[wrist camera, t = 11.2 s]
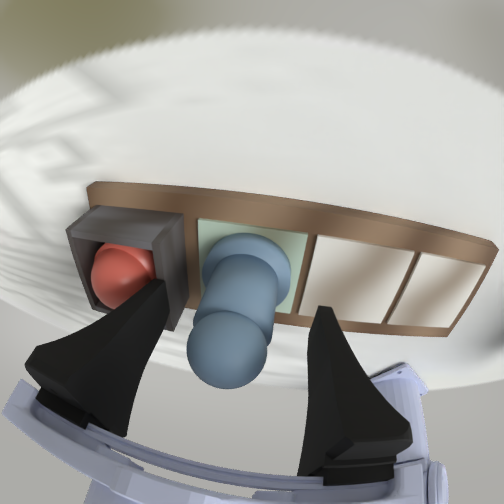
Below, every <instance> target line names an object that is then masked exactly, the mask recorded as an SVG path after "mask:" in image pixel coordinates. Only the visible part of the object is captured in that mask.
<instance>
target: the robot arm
mask: <svg viewBox="0 0 504 504" xmlns="http://www.w3.org/2000/svg"><path fill="white" fill-rule="evenodd" d="M169 313H170V306H169V301H168V295H167V289H166V282H165V281H164V280H159V279H153V280H151V281H150V282H149V283H148V284H146V285H145V286H144V287H143V288H141V289H140V290H139V291H138V292H136V293H135V294H134V295H133V296H131V297H130V298H129V299H127V300H126V301H125V302H124V303H122V304H121V305H120V306H118V307H117V308H115V309H114V310H113V311H111V312H110V313H108V314H107V315H105V316H104V317H102V318H101V319H99V320H97V321H96V322H94V323H92V324H91V325H89V326H87V327H85V328H83V329H81V330H79V331H77V332H75V333H73V334H71V335H68V336H66V337H63V338H61V339H58V340H56V341H52V342H49V343H46V344H42V345H39V346H36V348H35V349H34V351H33V352H32V354H31V355H30V357H29V358H28V360H27V361H26V363H25V368H26V370H27V371H28V373H29V374H30V375H31V376H32V377H33V379H34V380H35V381H36V382H37V383H38V384H39V385H40V386H41V389H40V390H39V391H38V390H37V389H36V388H34V387H33V386H32V385H30V384H29V383H27V382H26V381H24V380H23V379H20V381H19V382H18V384H17V386H16V387H15V389H14V391H13V393H12V394H11V396H10V398H9V400H8V402H7V403H6V405H5V407H4V409H3V411H2V415H3V416H5V417H6V418H7V419H8V420H9V421H10V422H11V423H13V424H14V425H15V426H16V427H17V428H19V429H20V430H21V431H22V432H23V433H25V434H26V435H27V436H28V437H30V438H31V439H32V440H33V441H35V442H36V443H38V444H39V445H40V446H41V447H43V448H44V449H45V450H47V451H48V452H50V453H51V454H52V455H54V456H55V457H57V458H59V459H60V460H61V461H63V462H64V463H66V464H68V465H69V466H71V467H72V468H74V469H76V470H77V471H79V472H81V473H82V474H84V475H86V476H88V477H89V478H91V479H92V482H91V484H90V487H89V490H88V492H87V495H86V498H85V501H84V504H448V501H449V500H448V499H449V492H448V479H447V473H446V469H445V466H444V465H443V464H441V463H439V461H435V462H433V461H431V460H429V449H428V441H427V434H426V427H425V421H424V415H423V409H422V404H421V398H420V396H422V395H424V394H426V393H428V388H427V387H426V385H425V384H424V383H423V382H422V380H421V379H420V378H419V377H418V375H417V374H416V373H415V372H414V371H413V369H412V368H411V367H410V366H409V364H402V365H400V366H398V367H396V368H394V369H392V370H390V371H387V372H385V373H383V374H381V375H379V376H376V377H374V378H372V379H369V377H368V376H367V374H366V373H365V371H364V370H363V368H362V367H361V365H360V364H359V362H358V360H357V359H356V357H355V355H354V353H353V351H352V350H351V348H350V346H349V344H348V342H347V340H346V338H345V336H344V334H343V332H342V329H341V327H340V325H339V323H338V320H337V318H336V316H335V313H334V311H333V309H332V307H329V306H321V305H318V308H317V311H316V314H315V317H314V320H313V323H312V326H311V329H310V332H309V337H308V350H307V362H308V395H309V396H308V410H307V419H306V427H305V435H304V441H303V447H302V453H301V458H300V464H299V468H298V473H297V476H284V475H272V474H262V473H254V472H247V471H240V470H234V469H228V468H223V467H218V466H213V465H208V464H204V463H200V462H195V461H192V460H187V459H184V458H180V457H177V456H173V455H170V454H166V453H163V452H160V451H157V450H154V449H151V448H148V447H145V446H143V445H140V444H137V443H135V442H132V441H129V440H127V439H124V438H123V437H126V436H127V430H128V425H129V419H130V415H131V411H132V407H133V402H134V399H135V396H136V392H137V389H138V385H139V383H140V380H141V377H142V374H143V371H144V369H145V366H146V364H147V362H148V360H149V358H150V356H151V354H152V352H153V350H154V348H155V346H156V344H157V342H158V340H159V338H160V336H161V334H162V332H163V330H164V327H165V324H166V322H167V319H168V316H169ZM111 448H112V449H114V450H116V451H119V452H121V453H123V454H126V455H128V456H131V457H133V458H136V459H138V460H141V461H144V462H146V463H149V464H152V465H155V466H158V467H161V468H164V469H167V470H171V471H174V472H178V473H181V474H185V475H189V476H192V477H196V478H200V479H205V480H209V481H214V482H219V483H224V484H230V485H236V486H243V487H249V488H257V489H267V490H279V491H256V492H255V494H254V495H253V496H252V498H246V497H240V496H234V495H229V494H224V493H219V492H215V491H210V490H206V489H202V488H198V487H194V486H190V485H186V484H183V483H179V482H176V481H172V480H169V479H166V478H162V477H159V476H156V475H153V474H150V473H147V472H144V469H143V467H141V466H139V465H137V464H135V463H134V462H132V461H131V460H130V459H129V458H127V457H125V456H123V455H121V454H119V453H117V452H115V451H113V450H111ZM286 491H292V492H286Z"/></svg>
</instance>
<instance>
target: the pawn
mask: <svg viewBox="0 0 504 504" xmlns="http://www.w3.org/2000/svg"><path fill="white" fill-rule="evenodd" d="M202 279H203V283H204V285H205V287H206V290H205V292H204V294H203V297H202V299H201V301H200V304H199V306H198V309H197V311H196V313H195V316H194V319H193V326H194V328H193V329H192V331H191V333H190V335H189V338H188V341H187V357H188V361H189V364H190V366H191V368H192V370H193V371H194V373H195V374H196V375H197V376H198V377H199V378H200V379H201V380H202V381H204V382H205V383H207V384H209V385H211V386H213V387H216V388H221V389H234V388H239V387H242V386H244V385H246V384H248V383H250V382H251V381H252V380H254V379H255V378H256V377H257V376H258V375H259V373H260V372H261V370H262V369H263V367H264V364H265V362H266V357H267V346H268V345H269V344H270V342H271V339H272V333H273V325H274V317H275V309H276V307H277V306H278V305H279V304H281V303H282V302H283V301H284V299H285V298H286V296H287V295H288V292H289V289H290V281H291V265H290V262H289V259H288V257H287V255H286V253H285V252H284V251H283V250H282V248H281V247H280V246H279V245H277V244H276V243H275V242H273V241H272V240H270V239H268V238H266V237H264V236H261V235H258V234H254V233H235V234H231V235H228V236H225V237H224V238H222V239H220V240H219V241H217V242H216V243H215V244H214V245H213V247H212V248H211V250H210V252H209V254H208V256H207V258H206V260H205V262H204V264H203V268H202Z"/></svg>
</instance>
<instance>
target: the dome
mask: <svg viewBox="0 0 504 504" xmlns="http://www.w3.org/2000/svg"><path fill="white" fill-rule="evenodd" d="M153 279H157V276H156V270H155V264H154V258H153V251H152V250H146V249H140V248H134V247H128V246H122V245H116V244H110V243H105V244H104V245H103V246H102V247H101V248H100V249H99V250H98V251H97V253H96V255H95V259H94V264H93V267H92V271H91V282H92V287H93V290H94V292H95V294H96V296H97V297H98V298H99V300H100V301H101V302H102V303H103V304H105V305H106V306H108V307H110V308H112V309H115V308H117V307H118V306H120V305H121V304H122V303H124V302H125V301H126V300H127V299H129V298H130V297H131V296H133V295H134V294H135V293H136V292H138V291H139V290H140V289H141V288H143V287H144V286H145V285H146V284H148V283H149V282H150V281H151V280H153Z"/></svg>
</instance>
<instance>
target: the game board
mask: <svg viewBox="0 0 504 504" xmlns="http://www.w3.org/2000/svg"><path fill="white" fill-rule="evenodd" d="M86 188H87V194H88V200H89V205H90V210H89V211H88V212H86V213H85V214H84V215H83V216H81V217H80V218H79V219H78V220H76V221H75V222H74V223H73V224H71V225H70V226H69V227H68V228H67V229H66V233H67V237H68V240H69V244H70V247H71V251H72V254H73V257H74V260H75V263H76V266H77V269H78V272H79V275H80V278H81V281H82V284H83V286H84V289H85V292H86V294H87V297H88V300H89V302H90V305H91V307H92V309H93V310H96V311H99V312H103V313H106V314H108V313H110V312H111V311H113V310H114V309H112V308H110V307H108V306H106V305H105V304H103V303H102V302H101V301H100V300H99V298H98V297H97V296H96V294H95V292H94V290H93V287H92V282H91V271H92V267H93V264H94V259H95V255H96V253H97V251H98V250H99V249H100V248H101V247H102V246H103V245H104V244H105V243H110V244H116V245H122V246H128V247H134V248H140V249H146V250H152V251H153V258H154V264H155V270H156V276H157V279H159V280H164V281H165V282H166V289H167V295H168V301H169V306H170V313H169V316H168V319H167V322H166V324H165V327H164V330H169V331H173V332H174V330H175V327H176V325H177V323H178V321H179V319H180V316H181V314H182V312H183V310H184V308H190V309H195V310H197V309H198V306H199V304H200V301H201V299H202V297H203V294H204V292H205V290H206V287H205V285H204V283H203V279H202V268H203V264H204V262H205V260H206V258H207V256H208V254H209V252H210V250H211V248H212V247H213V245H214V244H215V243H216V242H217V241H219V240H220V239H222V238H224V237H225V236H228V235H231V234H235V233H254V234H258V235H261V236H264V237H266V238H268V239H270V240H272V241H273V242H275V243H276V244H277V245H279V246H280V247H281V248H282V250H283V251H284V252H285V253H286V255H287V257H288V259H289V262H290V265H291V281H290V289H289V292H288V295H287V296H286V298H285V299H284V301H283V302H282V303H281V304H279V305H278V306H277V307H276V309H275V317H274V323H278V324H285V325H293V326H300V327H309V328H311V326H312V323H313V320H314V317H315V314H316V311H317V308H318V305H321V306H329V307H332V309H333V311H334V313H335V316H336V318H337V320H338V323H339V325H340V327H341V329H342V331H346V332H357V333H370V334H384V335H400V336H423V337H447V336H448V335H449V334H450V332H451V331H452V329H453V328H454V327H455V325H456V324H457V322H458V321H459V319H460V318H461V316H462V315H463V313H464V312H465V310H466V309H467V307H468V305H469V304H470V302H471V301H472V299H473V297H474V296H475V294H476V292H477V291H478V289H479V287H480V285H481V284H482V282H483V280H484V278H485V276H486V275H487V273H488V271H489V269H490V267H491V265H492V263H493V261H494V259H495V257H496V255H497V253H498V251H499V249H498V248H497V247H496V245H495V244H494V243H493V242H492V241H489V240H486V239H482V238H479V237H475V236H471V235H468V234H464V233H460V232H456V231H452V230H448V229H444V228H440V227H436V226H432V225H428V224H423V223H419V222H415V221H410V220H406V219H401V218H396V217H392V216H387V215H382V214H377V213H372V212H367V211H361V210H356V209H351V208H345V207H339V206H334V205H328V204H322V203H315V202H309V201H303V200H296V199H289V198H282V197H275V196H267V195H260V194H252V193H244V192H235V191H226V190H216V189H206V188H196V187H184V186H172V185H158V184H143V183H124V182H97V181H96V182H94V183H93V184H91V185H90V186H88V187H86Z"/></svg>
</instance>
